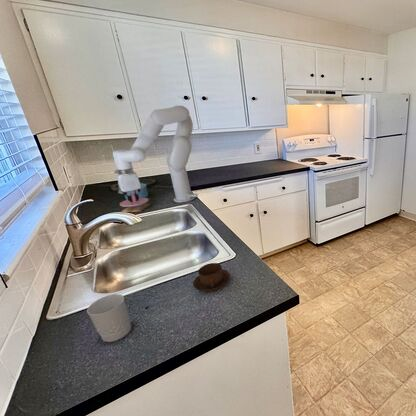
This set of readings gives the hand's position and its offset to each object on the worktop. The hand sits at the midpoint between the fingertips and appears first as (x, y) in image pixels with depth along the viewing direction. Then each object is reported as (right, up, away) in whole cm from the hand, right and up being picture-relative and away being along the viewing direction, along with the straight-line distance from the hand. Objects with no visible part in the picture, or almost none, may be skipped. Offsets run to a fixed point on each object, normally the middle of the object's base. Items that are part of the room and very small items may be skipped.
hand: (134, 200), depth 163 cm
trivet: (0, -5, +2) cm, 5 cm away
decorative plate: (-36, +13, +50) cm, 63 cm away
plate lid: (0, -1, 0) cm, 1 cm away
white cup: (+59, -40, -88) cm, 113 cm away
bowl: (-15, +3, +23) cm, 28 cm away
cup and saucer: (+77, -31, -68) cm, 108 cm away
